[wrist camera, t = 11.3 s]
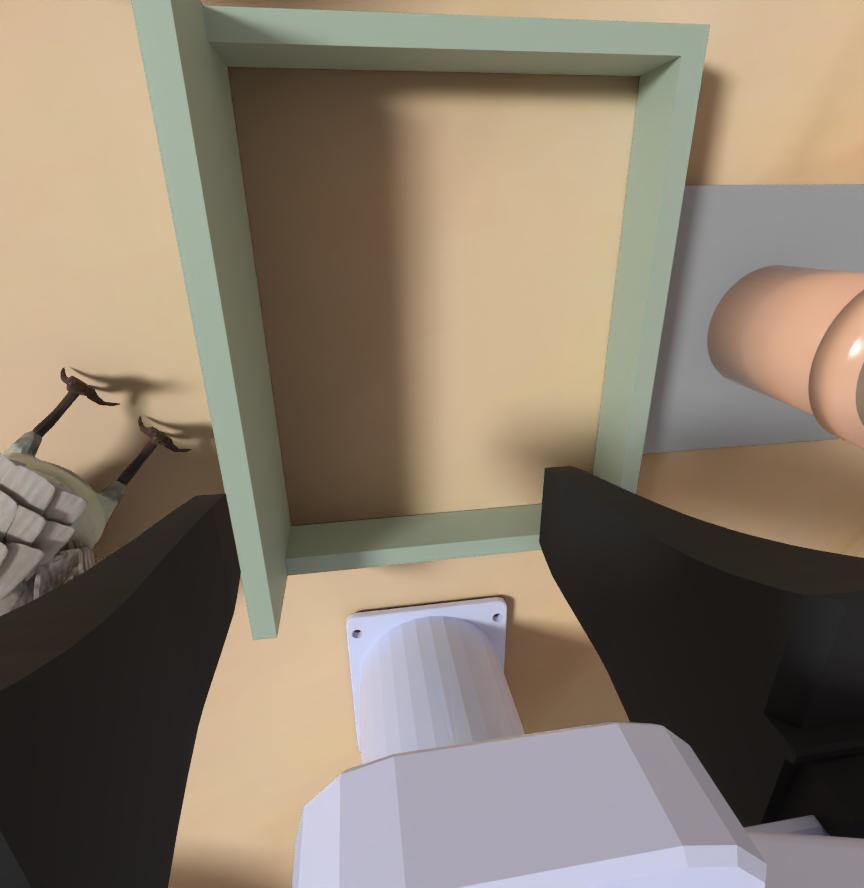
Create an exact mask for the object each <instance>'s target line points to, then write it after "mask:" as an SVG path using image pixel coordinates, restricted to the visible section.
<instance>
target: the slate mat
mask: <svg viewBox="0 0 864 888" xmlns="http://www.w3.org/2000/svg"><path fill="white" fill-rule="evenodd" d="M773 265H784V266H794V267H805V268H815V269H825V270H835V271H846V272H856V273H864V184H853V185H685V188H684V194H683V200H682V207H681V213H680V219H679V226H678V232H677V238H676V245H675V251H674V257H673V264H672V270H671V276H670V283H669V289H668V295H667V302H666V308H665V314H664V321H663V327H662V333H661V340H660V346H659V352H658V359H657V365H656V371H655V378H654V384H653V390H652V397H651V403H650V409H649V416H648V422H647V429H646V435H645V441H644V448H643V454H651V453H664V452H676V451H689V450H702V449H715V448H728V447H741V446H753V445H766V444H779V443H792V442H805V441H818V440H830V439H839V438H837V437H835V436H833V435H831V434H829V433H828V432H827V431H825V430H824V429H823V428H822V427H821V425H820V424H819V423H818V422H817V420H816V418H815V417H814V415H813V414H810V413H808V412H805V411H803V410H801V409H798V408H796V407H793V406H791V405H788V404H786V403H783V402H781V401H779V400H776V399H774V398H771V397H769V396H766V395H764V394H762V393H759V392H757V391H754V390H752V389H749V388H747V387H745V386H742V385H740V384H737V383H735V382H732V381H730V380H728V379H726V378H725V377H723V376H722V375H721V374H720V373H719V372H718V371H717V370H716V369H715V367H714V366H713V364H712V362H711V360H710V357H709V353H708V347H707V336H708V329H709V325H710V321H711V318H712V316H713V313H714V311H715V309H716V307H717V305H718V304H719V302H720V301H721V299H722V298H723V296H724V295H725V294H726V292H727V291H728V290H729V289H730V288H731V287H732V286H733V285H734V284H735V283H736V282H737V281H739V280H740V279H741V278H743V277H744V276H746V275H747V274H749V273H751V272H753V271H755V270H757V269H760V268H763V267H767V266H773Z"/></svg>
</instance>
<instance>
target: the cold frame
mask: <svg viewBox="0 0 864 888" xmlns="http://www.w3.org/2000/svg"><path fill="white" fill-rule="evenodd" d="M131 3H132V8H133V13H134V18H135V24H136V29H137V34H138V39H139V45H140V50H141V55H142V60H143V66H144V71H145V76H146V81H147V87H148V92H149V97H150V102H151V108H152V113H153V118H154V123H155V128H156V134H157V139H158V144H159V149H160V155H161V160H162V165H163V170H164V176H165V181H166V186H167V191H168V197H169V202H170V207H171V212H172V218H173V223H174V228H175V233H176V239H177V244H178V249H179V254H180V260H181V265H182V270H183V275H184V281H185V286H186V291H187V296H188V302H189V307H190V312H191V317H192V323H193V328H194V333H195V338H196V343H197V349H198V354H199V359H200V364H201V370H202V375H203V380H204V385H205V391H206V396H207V401H208V406H209V412H210V417H211V422H212V427H213V433H214V438H215V443H216V448H217V454H218V459H219V464H220V469H221V475H222V480H223V485H224V490H225V494H226V497H227V502H228V507H229V512H230V518H231V523H232V528H233V533H234V538H235V544H236V549H237V554H238V559H239V564H240V570H241V579H242V585H243V590H244V595H245V600H246V606H247V611H248V616H249V621H250V627H251V632H252V637H253V640H260V639H269V638H277V635H278V629H279V623H280V617H281V611H282V605H283V599H284V593H285V587H286V581H287V576H288V575H297V574H307V573H317V572H327V571H337V570H347V569H357V568H367V567H377V566H387V565H397V564H406V563H416V562H426V561H436V560H446V559H456V558H466V557H476V556H486V555H496V554H505V553H515V552H525V551H535V550H542V549H541V546H540V543H539V535H540V523H541V510H542V504H535V505H524V506H513V507H502V508H490V509H479V510H468V511H457V512H445V513H434V514H423V515H412V516H400V517H389V518H378V519H367V520H355V521H344V522H333V523H322V524H310V525H299V526H291V522H290V515H289V508H288V500H287V493H286V486H285V479H284V471H283V464H282V457H281V450H280V443H279V435H278V428H277V421H276V414H275V407H274V399H273V392H272V385H271V378H270V370H269V363H268V356H267V349H266V342H265V334H264V327H263V320H262V313H261V306H260V298H259V291H258V284H257V277H256V269H255V262H254V255H253V248H252V241H251V233H250V226H249V219H248V212H247V205H246V197H245V190H244V183H243V176H242V168H241V161H240V154H239V147H238V140H237V132H236V125H235V118H234V111H233V104H232V96H231V89H230V82H229V75H228V67H261V68H303V69H346V70H388V71H430V72H473V73H515V74H558V75H600V76H640V81H639V90H638V98H637V106H636V115H635V123H634V132H633V140H632V149H631V157H630V165H629V174H628V182H627V191H626V199H625V207H624V216H623V224H622V233H621V241H620V249H619V258H618V266H617V275H616V283H615V291H614V300H613V308H612V317H611V325H610V333H609V342H608V350H607V359H606V367H605V375H604V384H603V392H602V401H601V409H600V418H599V426H598V434H597V443H596V451H595V460H594V468H593V475H595V476H597V477H599V478H601V479H604V480H606V481H608V482H610V483H612V484H615V485H617V486H619V487H621V488H623V489H625V490H628V491H630V492H632V493H634V494H636V492H637V486H638V479H639V473H640V467H641V460H642V454H643V448H644V441H645V435H646V429H647V422H648V416H649V409H650V403H651V397H652V390H653V384H654V378H655V371H656V365H657V359H658V352H659V346H660V340H661V333H662V327H663V321H664V314H665V308H666V302H667V295H668V289H669V283H670V276H671V270H672V264H673V257H674V251H675V245H676V238H677V232H678V226H679V219H680V213H681V207H682V200H683V194H684V188H685V181H686V175H687V169H688V162H689V156H690V150H691V143H692V137H693V131H694V124H695V118H696V112H697V105H698V99H699V93H700V86H701V80H702V74H703V67H704V61H705V55H706V48H707V42H708V35H709V29H710V25H704V24H678V23H652V22H626V21H599V20H573V19H547V18H521V17H495V16H468V15H442V14H416V13H390V12H364V11H337V10H311V9H285V8H259V7H233V6H206V5H202V3H201V2H200V0H131Z"/></svg>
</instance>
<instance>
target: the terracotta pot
mask: <svg viewBox="0 0 864 888" xmlns="http://www.w3.org/2000/svg"><path fill="white" fill-rule="evenodd" d="M707 347H708V353H709V357H710V360H711V362H712V364H713V366H714V367H715V369H716V370H717V371H718V372H719V373H720V374H721V375H722V376H723V377H725V378H726V379H728V380H730V381H732V382H735V383H737V384H740V385H742V386H745V387H747V388H749V389H752V390H754V391H757V392H759V393H762V394H764V395H766V396H769V397H771V398H774V399H776V400H779V401H781V402H783V403H786V404H788V405H791V406H793V407H796V408H798V409H801V410H803V411H805V412H808V413H810V414H813V415H814V417H815V418H816V420H817V422H818V423H819V424H820V425H821V427H822V428H823V429H824V430H825V431H827V432H828V433H829V434H831V435H833V436H835V437H837V438H839V439H841V440H843V441H846V442H848V443H850V444H852V445H855V446H857V447H859V448H862V449H864V273H856V272H846V271H835V270H825V269H815V268H805V267H794V266H784V265H773V266H767V267H763V268H760V269H757V270H755V271H753V272H751V273H749V274H747V275H746V276H744V277H743V278H741V279H740V280H739V281H737V282H736V283H735V284H734V285H733V286H732V287H731V288H730V289H729V290H728V291H727V292H726V294H725V295H724V296H723V298H722V299H721V301H720V302H719V304H718V305H717V307H716V309H715V311H714V313H713V316H712V318H711V321H710V325H709V329H708V336H707Z"/></svg>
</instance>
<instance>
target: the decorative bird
mask: <svg viewBox="0 0 864 888" xmlns="http://www.w3.org/2000/svg"><path fill="white" fill-rule="evenodd" d="M61 380H62V381H63V382H64V383H66V384H67V390H68V391H69V392H68V394H67V395H66V396H65V397H64V398H63V400H62V401H61V402H60V403H59V405H58V406H57V407H56V408H55V409H54V411H53V412H51V413H50V414H49V415H48V416H47V417H46V418H45V419H44V420H43V421H42V422H41V423H39V424H38V425H37V426H36V427H35V428H34V429H33V431H30V432H28V433H25V434H24V435H23V436H21V437H20V438H19V439H18V440H17V441H16V442H15V443H14V444H13V445H11V446H10V447H9V448H8V449H7V450H6V451H5V452H4V453H3V454H1V453H0V616H1V615H4V614H6V613H8V612H10V611H12V610H14V609H16V608H19V607H21V606H23V605H25V604H27V603H29V602H31V601H33V600H35V599H37V598H39V597H41V596H42V595H44V594H46V593H48V592H50V591H52V590H53V589H55V588H57V587H59V586H61V585H63V584H64V583H66V582H68V581H70V580H71V579H73V578H75V577H77V576H78V575H80V574H82V573H83V572H85V571H87V570H88V569H90V568H92V567H93V566H95V555H94V552H93V550H92V548H93V547H94V545H95V544H96V543H97V542H98V541H99V539H100V537H101V535H102V533H103V531H104V528H105V526H106V524H107V522H108V520H109V518H110V516H111V515H112V513H113V511H114V509H115V508H116V506H117V505H118V503H119V501H120V500H121V498H122V497H123V495H124V493H125V492H126V485H127V484H128V483H129V481H130V480H131V479H132V478H133V476H134V475H135V474H136V472H137V471H138V470H139V468H140V467H141V465H142V464H143V463H144V462H145V460H146V459H147V458H148V457H149V455H150V454H151V453H152V452H153V450H154V449H155V448H156V447H157V445H158V444H161V445H164V446H165V447H166V448H168V449H170V450H172V451H174V452H187V451H190V450H191V449H178V448H177V447H176V446H175V445H174V444H173V441H172V439H171V438H170V437H168V436H167V435H165V434H164V433H163V432H161V431H159V430H157V429H156V428H154V427H149V428H147V427H145V426H144V425H143V423H142V420H141V417H139V421H138V423H139V428H140V430H141V431H142V432H144V433H145V434H146V435H147V436H149V437H150V438H151V440H150V441H149V443H148V444H147V445H146V446H145V448H144V449H143V450H142V451H141V453H140V454H139V455H138V456H137V458H136V459H135V460H134V461H133V462H132V463H131V464H130V466H129V467H128V468H127V469H126V470H125V471H124V472H123V473H122V475H121V476H120V477H119V478H118V480H117V481H116V482H113V483H112V484H110V485H109V486H108V487H107V488H105V489H104V490H103V491H102V492H100V493H97V492H95V491H94V490H93V489H92V488H91V486H90V485H89V484H88V483H86V482H85V481H84V480H83V479H82V478H81V477H79V476H78V475H76V474H75V473H73V472H72V471H70V470H68V469H65V468H63V467H61V466H58V465H55V464H52V463H49V462H45V461H42V460H39V459H37V458H35V455H36V452H37V450H38V448H39V446H40V443H41V441H42V437H43V436H44V435H45V434H46V433H47V432H48V431H49V430H50V429H51V428H52V427H53V426H54V425H55V423H56V422H57V421H58V420H59V418H60V417H61V416H62V415H63V414H64V412H65V411H66V410H67V409H68V408H69V407H70V405H71V404H72V403H73V402H74V401H75V399H76V398H77V397H78V396H79V395H85V396H87V398H88V399H90V400H92V401H94V402H96V403H97V404H99V405H107V406H115V405H120V404H118V403H110V402H104V401H103V400H102V399H101V398H100V397H98V395H97V393H96V392H95V390H94V389H93V388H92V387H91V386H90V385H87V384H86V383H84V382H82V381H81V380H79V379H77V378H75V377H74V376H71V377H69V378H68V377H67V376H66V374H65V369H64V368H63V369H62V371H61Z"/></svg>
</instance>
